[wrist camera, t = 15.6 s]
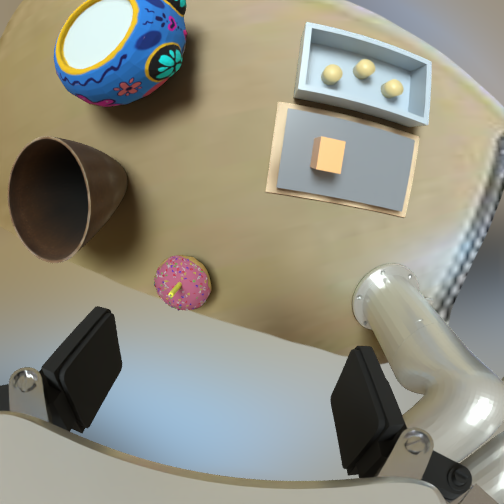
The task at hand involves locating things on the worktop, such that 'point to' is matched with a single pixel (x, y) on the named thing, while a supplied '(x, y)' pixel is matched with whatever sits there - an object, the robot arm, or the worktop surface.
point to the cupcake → (182, 282)
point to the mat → (272, 188)
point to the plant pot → (62, 195)
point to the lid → (344, 160)
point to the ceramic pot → (120, 49)
